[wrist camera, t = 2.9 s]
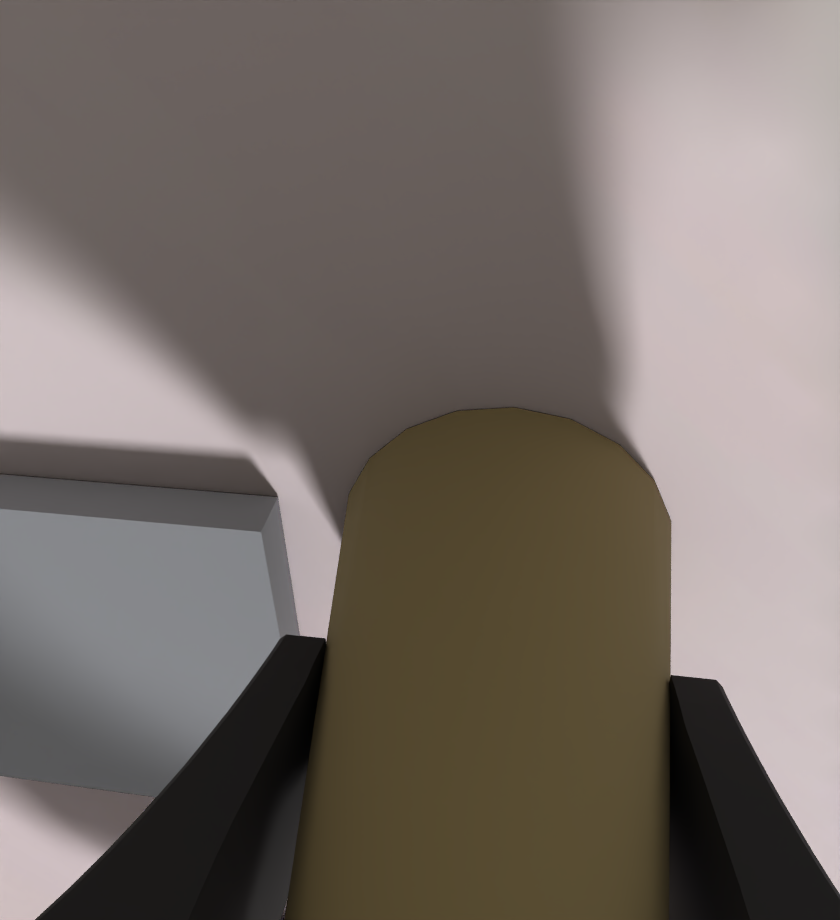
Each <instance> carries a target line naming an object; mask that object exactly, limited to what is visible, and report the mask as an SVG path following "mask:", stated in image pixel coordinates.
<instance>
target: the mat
mask: <svg viewBox="0 0 840 920" xmlns="http://www.w3.org/2000/svg"><path fill="white" fill-rule="evenodd" d="M286 634H287V635H297V636H300V634H299V628H298V622H297V615H296V609H295V603H294V596H293V590H292V584H291V577H290V571H289V565H288V558H287V552H286V545H285V539H284V533H283V526H282V520H281V514H280V507H279V501H278V497H270V496H258V495H246V494H233V493H221V492H209V491H197V490H185V489H173V488H160V487H148V486H136V485H124V484H112V483H100V482H88V481H75V480H63V479H51V478H39V477H27V476H15V475H3V474H0V776H5V777H12V778H19V779H26V780H34V781H41V782H48V783H56V784H63V785H70V786H77V787H85V788H92V789H99V790H107V791H114V792H121V793H128V794H136V795H143V796H150V797H157V796H158V795H159V793H160V792H161V791H162V790H163V789H164V788H165V787H166V786H167V784H168V783H169V782H170V781H171V780H172V779H173V778H174V776H175V775H176V774H177V773H178V772H179V771H180V770H181V769H182V767H183V766H184V765H185V764H186V763H187V761H188V760H189V759H190V758H191V757H192V755H193V754H194V753H195V752H196V750H197V749H198V748H199V747H200V745H201V744H202V743H203V742H204V740H205V739H206V738H207V737H208V735H209V734H210V733H211V732H212V730H213V729H214V728H215V727H216V725H217V724H218V723H219V722H220V720H221V719H222V718H223V717H224V715H225V714H226V713H227V712H228V710H229V709H230V708H231V706H232V705H233V704H234V702H235V701H236V700H237V698H238V697H239V696H240V694H241V693H242V692H243V690H244V689H245V688H246V686H247V685H248V684H249V682H250V681H251V680H252V678H253V677H254V675H255V674H256V673H257V671H258V670H259V668H260V667H261V666H262V664H263V663H264V661H265V660H266V658H267V657H268V656H269V654H270V653H271V651H272V650H273V648H274V647H275V645H276V644H277V642H278V641H279V639H280V638H282V637H283V636H285V635H286Z"/></svg>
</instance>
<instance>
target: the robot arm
mask: <svg viewBox="0 0 840 920" xmlns="http://www.w3.org/2000/svg"><path fill="white" fill-rule="evenodd" d="M325 648H326V639H325V638H316V637H306V636H297V635H287V634H286V635H285V636H283V637H282V638H280V639H279V641H278V642H277V644H276V645H275V647H274V648H273V650H272V651H271V653H270V654H269V656H268V657H267V658H266V660H265V661H264V663H263V664H262V666H261V667H260V668H259V670H258V671H257V673H256V674H255V675H254V677H253V678H252V680H251V681H250V682H249V684H248V685H247V686H246V688H245V689H244V690H243V692H242V693H241V694H240V696H239V697H238V698H237V700H236V701H235V702H234V704H233V705H232V706H231V708H230V709H229V710H228V712H227V713H226V714H225V715H224V717H223V718H222V719H221V720H220V722H219V723H218V724H217V725H216V727H215V728H214V729H213V730H212V732H211V733H210V734H209V735H208V737H207V738H206V739H205V740H204V742H203V743H202V744H201V745H200V747H199V748H198V749H197V750H196V752H195V753H194V754H193V755H192V757H191V758H190V759H189V760H188V761H187V763H186V764H185V765H184V766H183V767H182V769H181V770H180V771H179V772H178V773H177V774H176V775H175V776H174V778H173V779H172V780H171V781H170V782H169V783H168V784H167V786H166V787H165V788H164V789H163V790H162V791H161V792H160V793H159V795H158V796H157V797H156V798H155V799H154V800H153V801H152V803H151V804H150V805H149V806H148V807H147V808H146V809H145V811H144V812H143V813H142V814H141V815H140V816H139V817H138V818H137V819H136V820H135V822H134V823H133V824H132V825H131V826H130V827H129V828H128V829H127V830H126V831H125V832H124V833H123V834H122V835H121V836H120V837H119V839H118V840H117V841H116V842H115V843H114V844H113V845H112V846H111V847H110V848H109V849H108V850H107V851H106V852H105V853H104V854H103V855H102V856H101V857H100V858H99V859H98V860H97V861H96V862H95V863H94V864H93V865H92V866H91V867H90V868H89V869H88V870H87V871H86V872H85V873H84V874H83V875H82V876H81V877H80V878H79V879H78V880H77V881H76V882H75V883H74V884H73V885H72V886H71V887H70V888H69V889H68V890H66V891H65V892H64V893H63V894H62V895H61V896H60V897H59V898H58V899H57V900H56V901H55V902H54V903H53V904H51V905H50V906H49V907H48V908H47V909H46V910H45V911H44V912H43V913H42V914H41V915H40V916H39V917H37V918H36V919H35V920H281V916H282V913H283V910H284V907H285V904H286V901H287V898H288V893H289V886H290V880H291V873H292V867H293V860H294V853H295V847H296V840H297V833H298V827H299V820H300V814H301V807H302V800H303V794H304V787H305V780H306V774H307V767H308V761H309V754H310V747H311V741H312V734H313V728H314V721H315V714H316V708H317V701H318V694H319V688H320V681H321V675H322V668H323V661H324V655H325ZM669 686H670V837H669V920H840V894H839V892H838V891H837V889H836V888H835V886H834V885H833V883H832V882H831V880H830V879H829V877H828V875H827V874H826V872H825V871H824V869H823V867H822V866H821V864H820V863H819V861H818V859H817V858H816V856H815V855H814V853H813V851H812V850H811V848H810V846H809V845H808V843H807V841H806V840H805V838H804V836H803V835H802V833H801V831H800V830H799V828H798V826H797V825H796V823H795V821H794V820H793V818H792V816H791V815H790V813H789V811H788V810H787V808H786V806H785V805H784V803H783V801H782V800H781V798H780V796H779V794H778V793H777V791H776V789H775V787H774V785H773V784H772V782H771V780H770V778H769V777H768V775H767V773H766V771H765V769H764V767H763V766H762V764H761V762H760V760H759V758H758V756H757V755H756V753H755V751H754V749H753V747H752V745H751V743H750V741H749V740H748V738H747V736H746V734H745V732H744V730H743V728H742V726H741V724H740V722H739V720H738V718H737V716H736V714H735V712H734V710H733V708H732V706H731V704H730V702H729V700H728V698H727V696H726V694H725V691H724V689H723V687H722V686H721V685H720V684H719V683H718V682H717V680H712V679H702V678H693V677H684V676H674V675H671V677H670V681H669Z"/></svg>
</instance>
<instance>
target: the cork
mask: <svg viewBox="0 0 840 920" xmlns="http://www.w3.org/2000/svg"><path fill="white" fill-rule="evenodd" d="M670 652H671V520H670V517H669V515H668V512H667V510H666V508H665V505H664V503H663V500H662V498H661V496H660V493H659V491H658V488H657V486H656V483H655V481H654V480H653V479H652V478H651V477H650V476H649V475H648V474H647V473H646V472H645V471H644V469H643V468H642V467H641V466H640V465H639V464H638V463H637V462H636V461H635V460H634V459H633V458H632V457H631V456H630V455H629V454H628V453H627V452H626V451H625V450H624V449H623V448H622V447H621V446H620V445H619V444H617V443H615V442H613V441H611V440H609V439H608V438H606V437H604V436H602V435H600V434H598V433H596V432H594V431H592V430H590V429H589V428H587V427H585V426H583V425H581V424H579V423H577V422H575V421H573V420H571V419H568V418H563V417H558V416H553V415H548V414H543V413H538V412H534V411H529V410H524V409H519V408H514V407H512V408H496V409H481V410H466V411H455V412H453V413H450V414H447V415H444V416H441V417H439V418H436V419H433V420H430V421H428V422H425V423H422V424H419V425H417V426H414V427H411V428H408V429H406V430H405V431H404V432H402V433H401V434H400V435H398V436H397V437H396V438H395V439H393V440H392V441H391V442H390V443H388V444H387V445H386V446H385V447H383V448H382V449H381V450H380V451H378V452H377V453H376V454H374V455H373V456H372V457H371V458H370V459H369V460H368V462H367V464H366V465H365V467H364V469H363V471H362V472H361V474H360V476H359V477H358V479H357V481H356V483H355V484H354V486H353V488H352V489H351V491H350V493H349V496H348V503H347V509H346V516H345V522H344V529H343V536H342V542H341V549H340V555H339V562H338V569H337V575H336V582H335V589H334V595H333V602H332V608H331V615H330V622H329V628H328V635H327V641H326V648H325V655H324V661H323V668H322V675H321V681H320V688H319V694H318V701H317V708H316V714H315V721H314V728H313V734H312V741H311V747H310V754H309V761H308V767H307V774H306V780H305V787H304V794H303V800H302V807H301V814H300V820H299V827H298V833H297V840H296V847H295V853H294V860H293V867H292V873H291V880H290V886H289V893H288V900H287V906H286V913H285V919H284V920H669V837H670V686H669V681H670Z"/></svg>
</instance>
